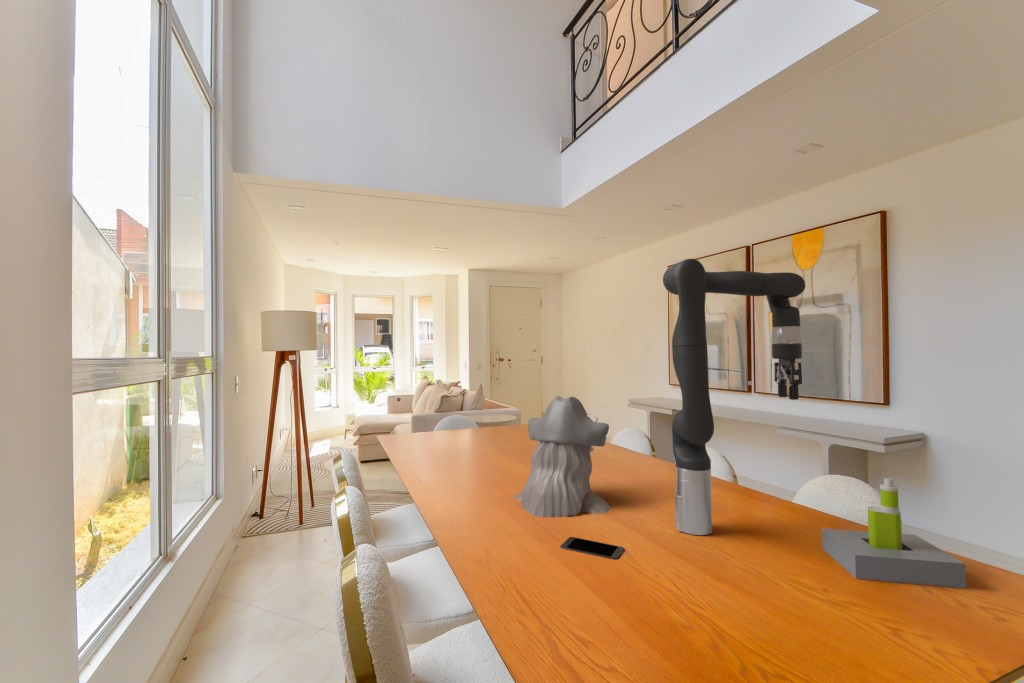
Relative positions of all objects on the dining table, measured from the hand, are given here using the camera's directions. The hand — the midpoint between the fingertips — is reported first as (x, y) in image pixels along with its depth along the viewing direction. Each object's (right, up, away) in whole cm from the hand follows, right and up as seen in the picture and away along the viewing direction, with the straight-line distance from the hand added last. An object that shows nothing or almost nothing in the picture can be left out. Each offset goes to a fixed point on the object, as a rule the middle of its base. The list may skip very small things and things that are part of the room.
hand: (788, 398), depth 132 cm
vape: (+5, -35, -28) cm, 45 cm away
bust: (-64, -37, +20) cm, 77 cm away
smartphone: (-60, -36, -18) cm, 72 cm away
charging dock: (+5, -35, -28) cm, 45 cm away
